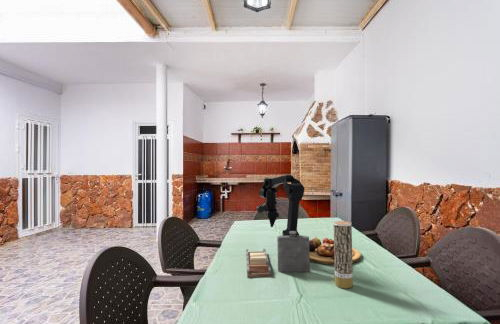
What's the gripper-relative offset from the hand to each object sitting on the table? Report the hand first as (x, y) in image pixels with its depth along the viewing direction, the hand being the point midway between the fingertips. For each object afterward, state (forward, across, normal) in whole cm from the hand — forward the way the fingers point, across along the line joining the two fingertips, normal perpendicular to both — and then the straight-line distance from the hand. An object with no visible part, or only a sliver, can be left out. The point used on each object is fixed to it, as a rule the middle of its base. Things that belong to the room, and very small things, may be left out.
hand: (271, 227), depth 155 cm
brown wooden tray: (+13, +21, -10) cm, 26 cm away
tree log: (+13, +46, +24) cm, 54 cm away
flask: (+13, +30, +6) cm, 34 cm away
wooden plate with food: (+14, +10, +29) cm, 34 cm away
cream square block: (+12, +26, -10) cm, 30 cm away
